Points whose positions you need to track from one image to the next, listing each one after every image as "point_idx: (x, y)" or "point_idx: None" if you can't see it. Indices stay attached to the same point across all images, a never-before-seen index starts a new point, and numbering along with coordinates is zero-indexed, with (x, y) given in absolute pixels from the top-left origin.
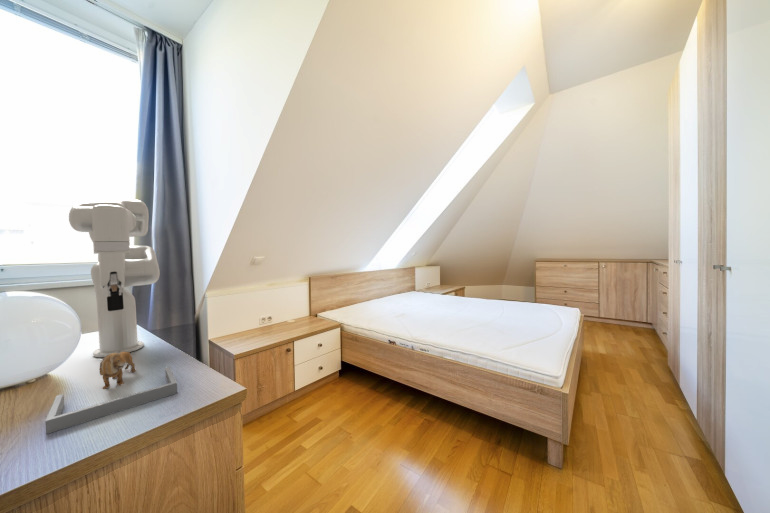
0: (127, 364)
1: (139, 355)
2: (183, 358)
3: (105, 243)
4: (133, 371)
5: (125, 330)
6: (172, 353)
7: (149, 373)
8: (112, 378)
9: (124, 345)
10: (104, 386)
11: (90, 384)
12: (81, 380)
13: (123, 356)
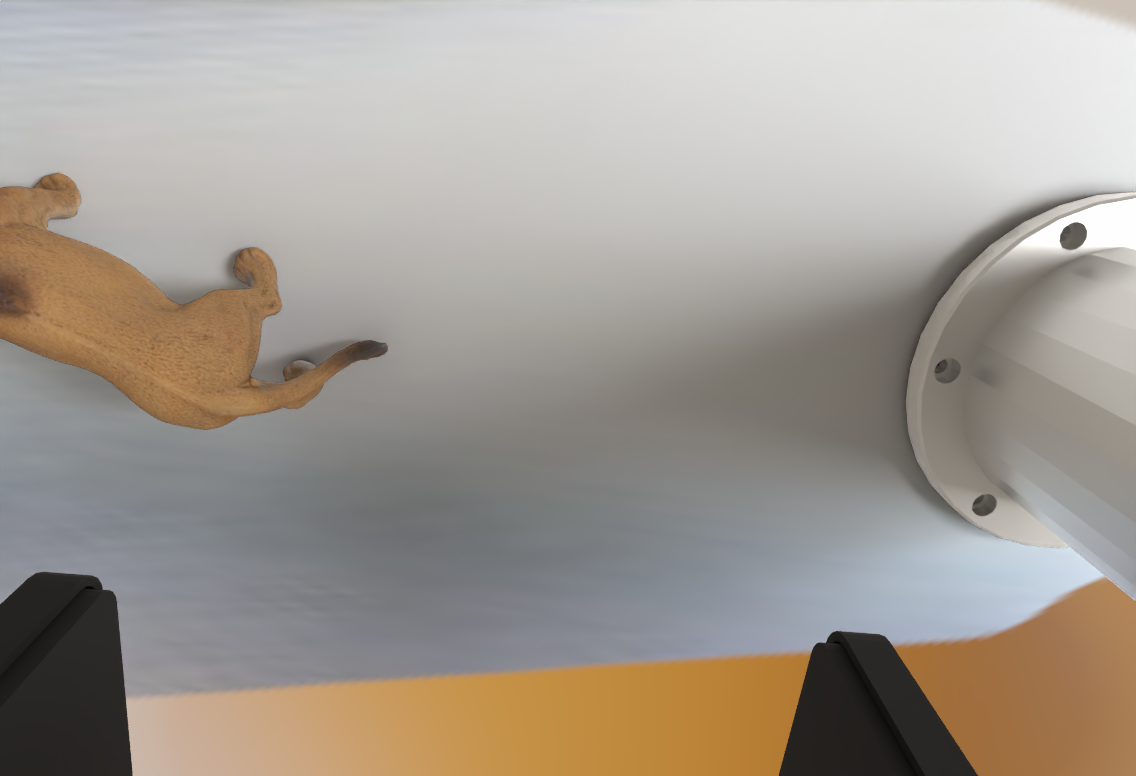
0: (312, 369)
1: (739, 467)
2: (328, 664)
3: None
4: (287, 378)
5: (1090, 515)
6: (542, 638)
7: (159, 450)
8: (248, 248)
9: (984, 425)
10: (45, 185)
11: (250, 113)
12: (427, 66)
13: (95, 373)
